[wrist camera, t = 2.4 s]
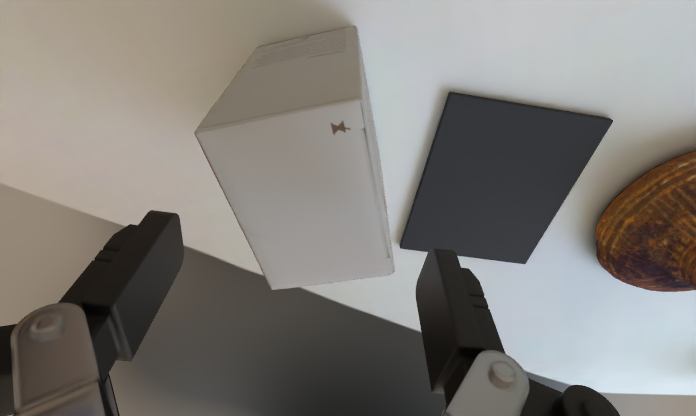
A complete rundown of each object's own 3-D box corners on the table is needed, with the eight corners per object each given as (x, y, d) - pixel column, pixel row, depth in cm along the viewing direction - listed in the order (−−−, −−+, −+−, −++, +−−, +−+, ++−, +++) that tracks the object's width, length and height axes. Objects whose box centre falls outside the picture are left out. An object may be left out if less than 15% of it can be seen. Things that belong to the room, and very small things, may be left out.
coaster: (399, 245, 29) (399, 248, 28) (449, 91, 21) (450, 93, 21) (523, 260, 29) (525, 264, 29) (610, 118, 22) (613, 120, 22)
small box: (256, 44, 20) (185, 126, 12) (358, 22, 19) (363, 92, 11) (297, 171, 25) (268, 295, 16) (380, 156, 24) (396, 279, 16)
